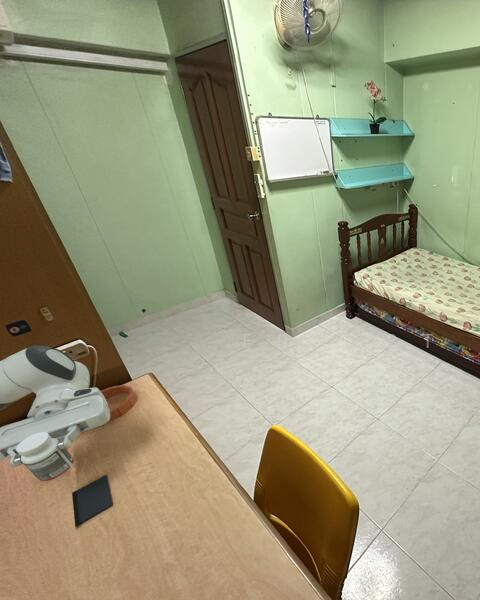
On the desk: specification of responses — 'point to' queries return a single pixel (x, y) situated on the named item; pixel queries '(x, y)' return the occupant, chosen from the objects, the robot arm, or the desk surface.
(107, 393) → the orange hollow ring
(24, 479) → the desk surface
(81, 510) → the mat
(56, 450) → the pill bottle
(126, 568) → the desk surface
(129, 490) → the desk surface
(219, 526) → the desk surface
